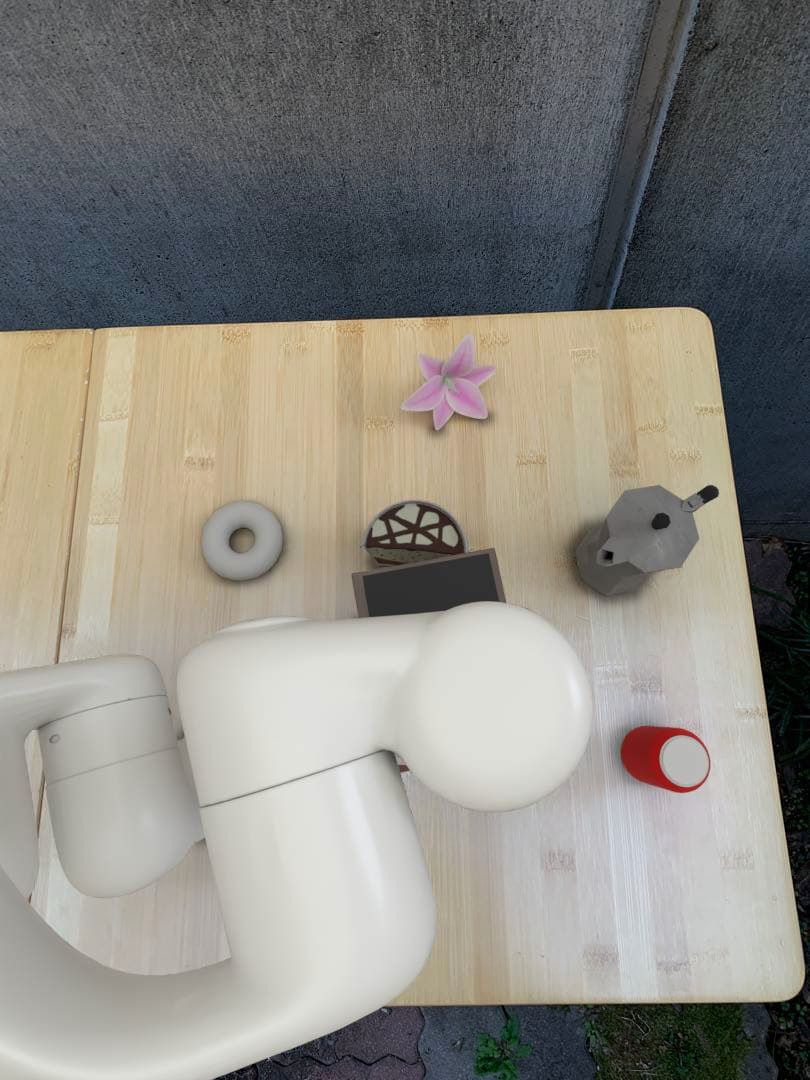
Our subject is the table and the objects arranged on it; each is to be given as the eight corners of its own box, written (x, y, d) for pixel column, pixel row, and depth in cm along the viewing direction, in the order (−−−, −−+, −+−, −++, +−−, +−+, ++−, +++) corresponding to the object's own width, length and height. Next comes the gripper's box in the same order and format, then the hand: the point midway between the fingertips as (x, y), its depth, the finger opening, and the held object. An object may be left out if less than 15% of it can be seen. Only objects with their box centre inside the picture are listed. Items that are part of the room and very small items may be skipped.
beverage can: (657, 717, 78) (698, 718, 67) (681, 770, 77) (728, 780, 65) (608, 737, 78) (642, 741, 66) (632, 791, 77) (671, 805, 65)
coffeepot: (589, 621, 81) (636, 596, 64) (545, 555, 83) (578, 514, 66) (693, 555, 83) (766, 513, 66) (647, 493, 85) (706, 436, 68)
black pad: (381, 681, 54) (379, 679, 51) (365, 583, 56) (362, 575, 53) (506, 657, 54) (511, 654, 51) (485, 561, 56) (488, 552, 53)
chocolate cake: (468, 524, 85) (475, 500, 75) (465, 573, 83) (471, 554, 73) (370, 515, 85) (364, 490, 75) (365, 563, 84) (358, 544, 74)
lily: (386, 422, 89) (405, 425, 80) (400, 330, 87) (421, 322, 78) (472, 436, 92) (498, 440, 83) (487, 348, 90) (516, 342, 81)
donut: (220, 595, 83) (296, 565, 84) (211, 590, 80) (291, 559, 80) (195, 522, 85) (270, 493, 86) (186, 514, 82) (264, 484, 83)
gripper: (313, 814, 34) (349, 779, 51) (651, 749, 34) (573, 736, 52) (292, 664, 36) (334, 679, 53) (614, 604, 36) (550, 639, 54)
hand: (452, 707), depth 52 cm, fingers open, 6 cm apart
